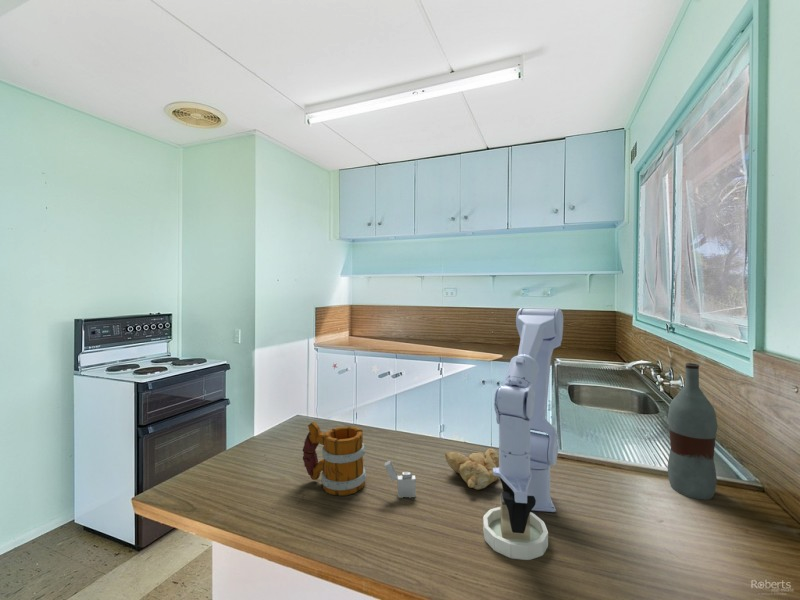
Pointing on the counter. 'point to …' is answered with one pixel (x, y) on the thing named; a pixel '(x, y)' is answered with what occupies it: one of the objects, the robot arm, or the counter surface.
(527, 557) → the dish
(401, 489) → the lighter
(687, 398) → the bottle
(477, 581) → the counter surface
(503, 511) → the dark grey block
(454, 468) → the ginger root
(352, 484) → the mug
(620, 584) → the counter surface
